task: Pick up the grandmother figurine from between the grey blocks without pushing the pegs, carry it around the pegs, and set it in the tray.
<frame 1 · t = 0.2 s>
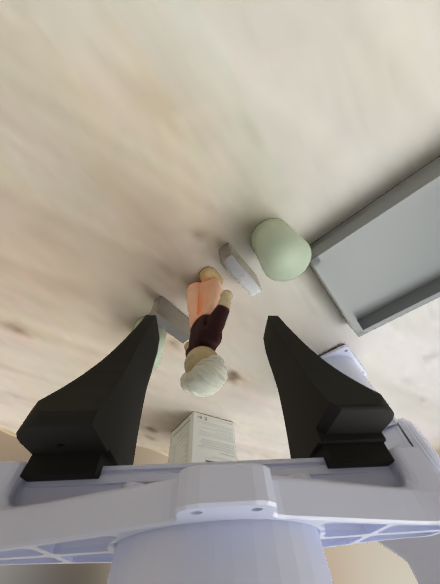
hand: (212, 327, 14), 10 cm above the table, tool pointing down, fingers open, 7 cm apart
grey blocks: (204, 288, 24), on the table
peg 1: (151, 328, 27), on the table
tray: (390, 254, 23), on the table
supplement box: (202, 426, 42), on the table
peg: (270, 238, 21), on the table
grandmother figurine: (204, 287, 24), on the table
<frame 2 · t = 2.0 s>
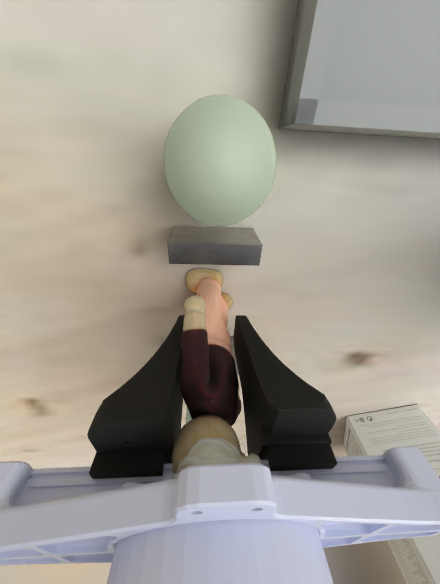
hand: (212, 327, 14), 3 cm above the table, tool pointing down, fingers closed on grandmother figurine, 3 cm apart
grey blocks: (212, 297, 17), on the table
supplement box: (375, 424, 30), on the table
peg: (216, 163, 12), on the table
grandmother figurine: (212, 296, 17), on the table, touching gripper
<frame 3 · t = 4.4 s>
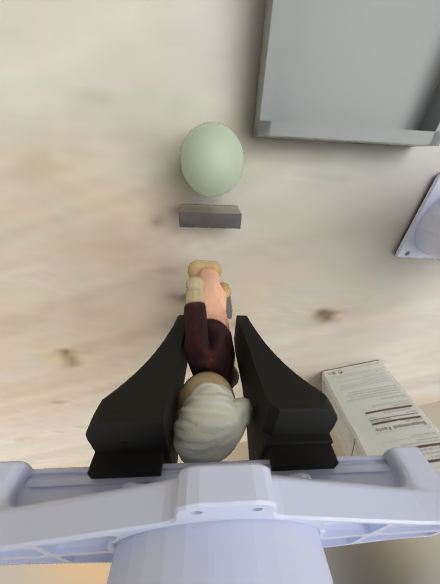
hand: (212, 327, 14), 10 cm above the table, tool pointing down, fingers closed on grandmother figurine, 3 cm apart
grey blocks: (209, 260, 22), on the table
supplement box: (347, 380, 36), on the table
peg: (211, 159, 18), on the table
grandmother figurine: (212, 286, 19), point 5 cm above the table, touching gripper
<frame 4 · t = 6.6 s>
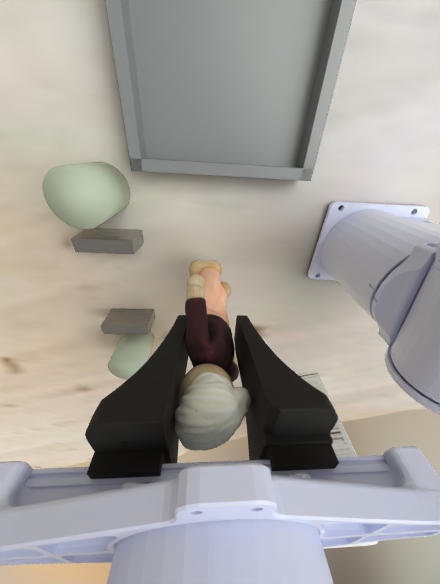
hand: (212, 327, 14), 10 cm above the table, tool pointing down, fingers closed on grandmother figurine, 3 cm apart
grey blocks: (126, 278, 23), on the table
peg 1: (139, 336, 28), on the table
tray: (228, 47, 14), on the table
supplement box: (291, 392, 37), on the table
grandmother figurine: (212, 285, 19), point 4 cm above the table, touching gripper
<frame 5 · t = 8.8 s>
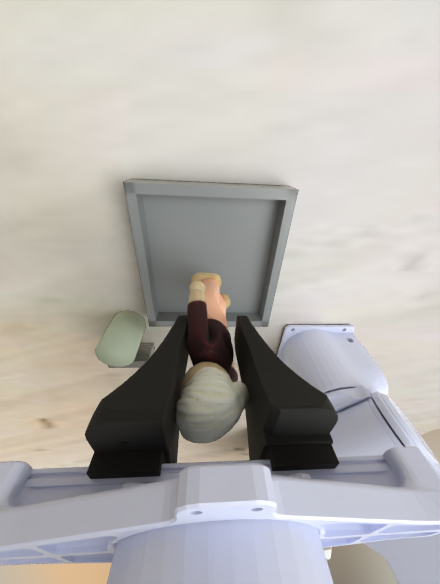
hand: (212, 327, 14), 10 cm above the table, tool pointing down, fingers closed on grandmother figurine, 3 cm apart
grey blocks: (140, 369, 32), on the table
tray: (210, 259, 22), on the table
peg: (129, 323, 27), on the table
grandmother figurine: (212, 296, 20), point 4 cm above the table, touching gripper
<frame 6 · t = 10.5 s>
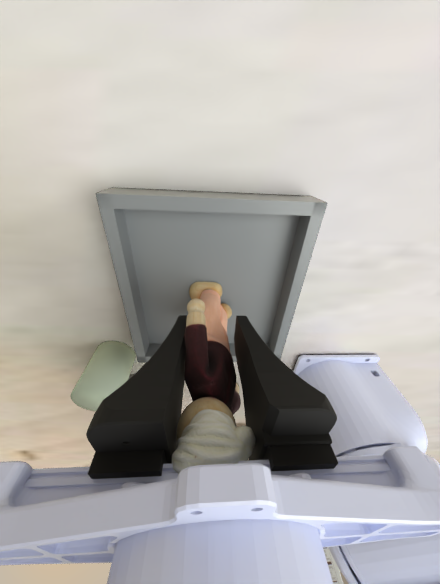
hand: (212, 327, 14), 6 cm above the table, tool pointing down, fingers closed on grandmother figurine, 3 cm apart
tray: (211, 283, 18), on the table
supplement box: (278, 460, 41), on the table
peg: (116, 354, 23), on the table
grandmother figurine: (213, 306, 19), point 1 cm above the table, touching gripper, tray
when the fingers open (5 cm above the table, at t = 11.5 s): grandmother figurine stays where it is, resting on tray.
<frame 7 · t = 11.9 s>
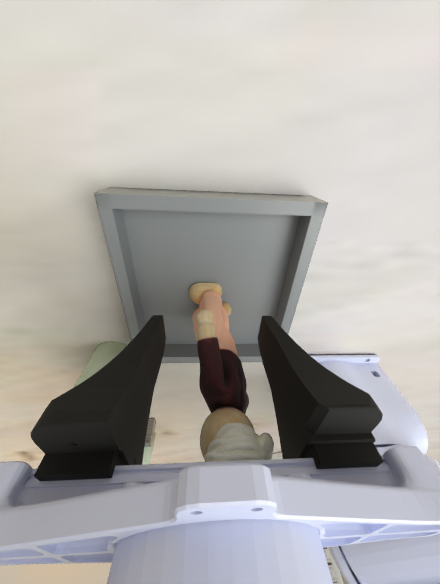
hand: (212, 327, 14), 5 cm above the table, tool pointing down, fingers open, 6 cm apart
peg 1: (141, 434, 33), on the table
tray: (211, 284, 18), on the table
supplement box: (278, 460, 41), on the table
grandmother figurine: (212, 305, 19), point 1 cm above the table, touching tray
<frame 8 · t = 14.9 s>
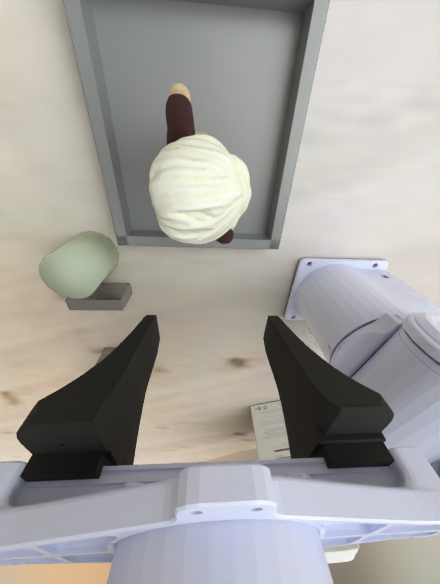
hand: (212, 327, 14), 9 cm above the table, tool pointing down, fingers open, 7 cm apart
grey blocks: (117, 322, 25), on the table
tray: (200, 144, 16), on the table
supplement box: (277, 412, 39), on the table
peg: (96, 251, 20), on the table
grandmother figurine: (202, 171, 17), point 1 cm above the table, touching tray
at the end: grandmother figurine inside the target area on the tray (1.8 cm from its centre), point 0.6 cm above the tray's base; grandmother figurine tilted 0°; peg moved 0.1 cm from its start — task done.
